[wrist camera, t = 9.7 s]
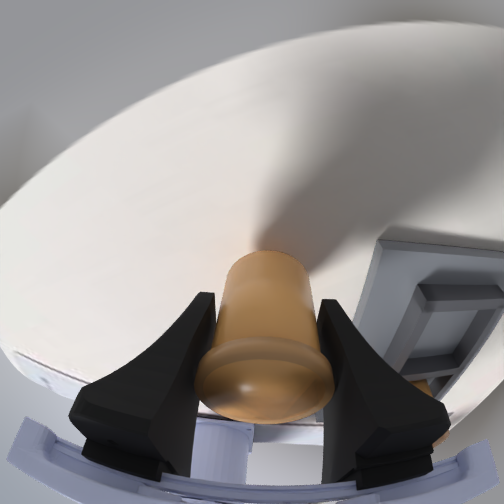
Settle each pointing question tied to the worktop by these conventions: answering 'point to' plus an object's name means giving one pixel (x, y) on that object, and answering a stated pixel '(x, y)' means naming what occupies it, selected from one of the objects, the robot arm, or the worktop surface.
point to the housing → (430, 309)
